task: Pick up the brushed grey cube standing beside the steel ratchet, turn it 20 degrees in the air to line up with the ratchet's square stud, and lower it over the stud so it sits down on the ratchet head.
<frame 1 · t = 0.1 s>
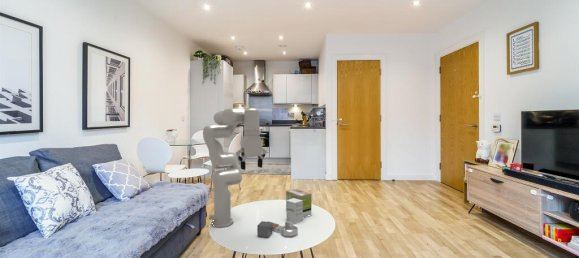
hand: (251, 168, 130), 37 cm above the table, tool pointing down, fingers open, 9 cm apart
brushed grey cube: (265, 235, 140), on the table
tea box: (298, 214, 172), on the table
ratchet: (289, 234, 141), on the table
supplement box: (294, 221, 161), on the table
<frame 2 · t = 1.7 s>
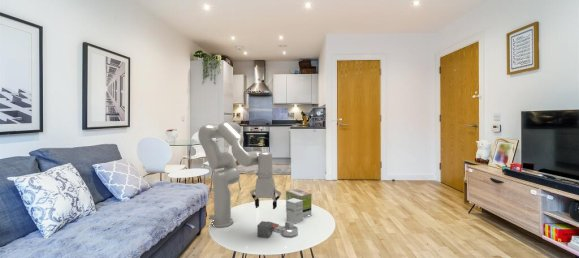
hand: (265, 207, 139), 15 cm above the table, tool pointing down, fingers open, 9 cm apart
nothing on the table moved.
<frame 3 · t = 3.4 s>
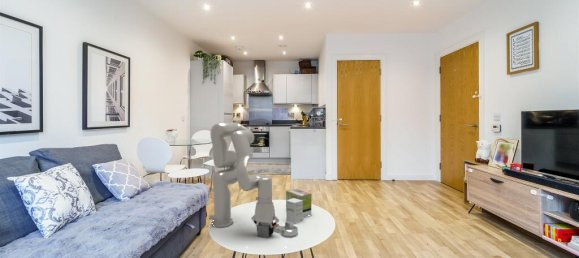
hand: (265, 233, 140), 1 cm above the table, tool pointing down, fingers closed on brushed grey cube, 6 cm apart
brushed grey cube: (265, 235, 140), on the table, touching gripper
everything else where it was.
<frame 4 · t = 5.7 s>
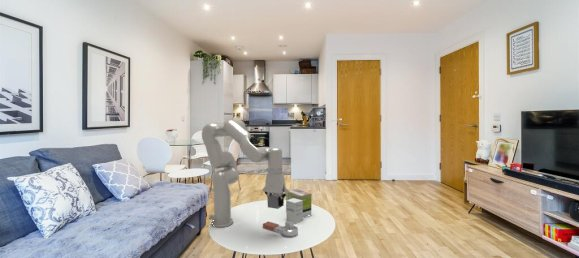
hand: (275, 204, 140), 16 cm above the table, tool pointing down, fingers closed on brushed grey cube, 6 cm apart
brushed grey cube: (275, 206, 140), point 15 cm above the table, touching gripper
everything else where it was.
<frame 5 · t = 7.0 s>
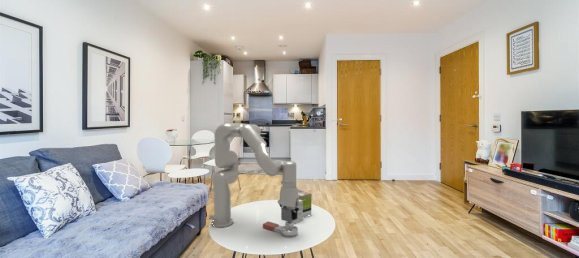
hand: (289, 217, 141), 9 cm above the table, tool pointing down, fingers closed on brushed grey cube, 6 cm apart
brushed grey cube: (289, 219, 141), point 8 cm above the table, touching gripper
everything else where it was.
when the fingers open (5 cm above the table, at t = 8.2 s): brushed grey cube drops 1 cm, resting on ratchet.
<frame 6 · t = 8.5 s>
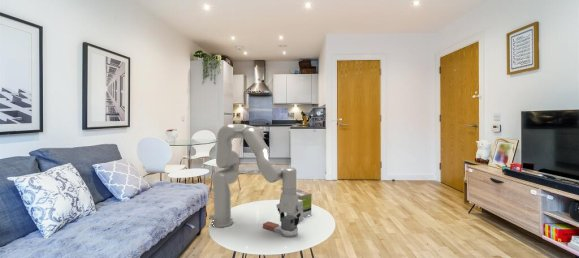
hand: (289, 222, 141), 6 cm above the table, tool pointing down, fingers open, 9 cm apart
brushed grey cube: (289, 228, 141), point 3 cm above the table, touching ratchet
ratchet: (289, 234, 141), on the table, touching brushed grey cube
everything else where it was.
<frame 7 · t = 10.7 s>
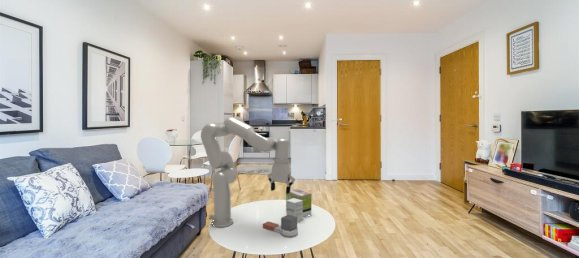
hand: (280, 191, 145), 22 cm above the table, tool pointing down, fingers open, 9 cm apart
nothing on the table moved.
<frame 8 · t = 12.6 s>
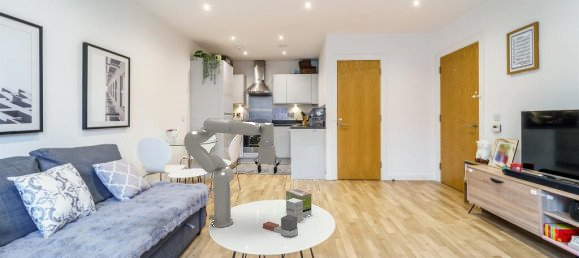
hand: (267, 173, 154), 30 cm above the table, tool pointing down, fingers open, 9 cm apart
nothing on the table moved.
at the end: brushed grey cube 0.2 cm from the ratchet (horizontally); brushed grey cube point 2.9 cm above the table; brushed grey cube tilted 0° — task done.
